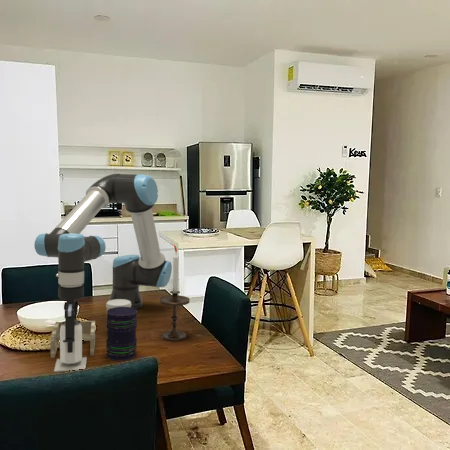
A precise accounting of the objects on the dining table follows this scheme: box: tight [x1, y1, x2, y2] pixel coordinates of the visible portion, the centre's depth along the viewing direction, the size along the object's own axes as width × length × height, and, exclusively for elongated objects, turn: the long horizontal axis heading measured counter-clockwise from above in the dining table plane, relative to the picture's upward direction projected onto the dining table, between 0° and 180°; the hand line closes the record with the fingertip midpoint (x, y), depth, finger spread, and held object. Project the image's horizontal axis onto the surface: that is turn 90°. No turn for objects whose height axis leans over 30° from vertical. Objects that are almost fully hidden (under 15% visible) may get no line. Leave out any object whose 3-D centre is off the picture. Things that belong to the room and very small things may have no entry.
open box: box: [50, 320, 96, 359], centre depth 155 cm, size 15×13×7 cm
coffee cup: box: [105, 299, 132, 313], centre depth 171 cm, size 9×9×12 cm
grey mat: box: [53, 356, 88, 373], centre depth 142 cm, size 9×9×1 cm
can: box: [59, 319, 83, 364], centre depth 141 cm, size 6×6×12 cm
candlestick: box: [159, 243, 191, 342], centre depth 168 cm, size 11×11×35 cm
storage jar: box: [105, 307, 138, 362], centre depth 150 cm, size 10×10×15 cm
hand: (71, 357), depth 142 cm, fingers closed on can, 6 cm apart
